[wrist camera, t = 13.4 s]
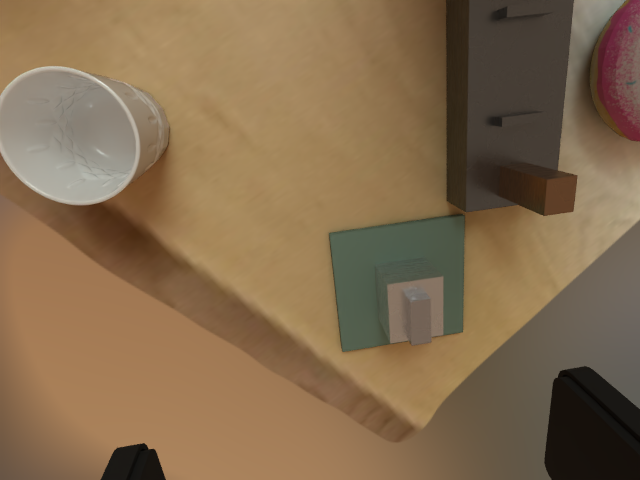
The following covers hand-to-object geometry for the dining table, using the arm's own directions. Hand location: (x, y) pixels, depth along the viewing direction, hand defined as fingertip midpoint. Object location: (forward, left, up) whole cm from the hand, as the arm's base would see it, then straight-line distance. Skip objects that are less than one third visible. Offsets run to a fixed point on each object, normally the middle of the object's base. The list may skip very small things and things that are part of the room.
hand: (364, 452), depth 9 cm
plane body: (-8, +18, -28) cm, 34 cm away
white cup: (-7, -13, -28) cm, 32 cm away
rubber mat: (+11, +9, -28) cm, 32 cm away
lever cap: (+11, +9, -28) cm, 31 cm away
